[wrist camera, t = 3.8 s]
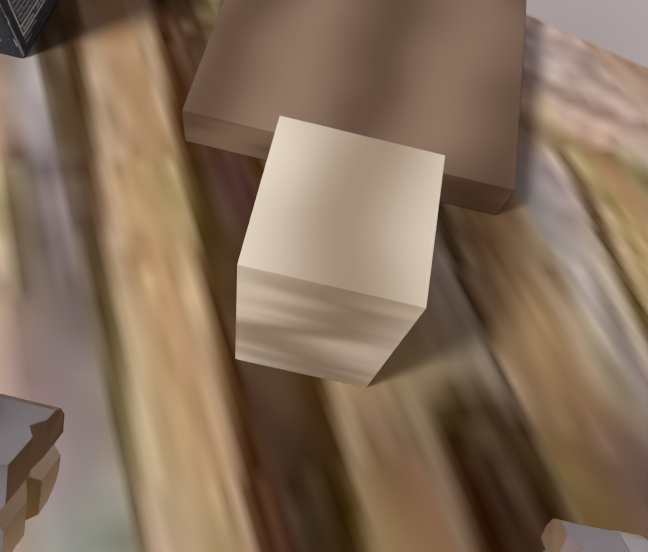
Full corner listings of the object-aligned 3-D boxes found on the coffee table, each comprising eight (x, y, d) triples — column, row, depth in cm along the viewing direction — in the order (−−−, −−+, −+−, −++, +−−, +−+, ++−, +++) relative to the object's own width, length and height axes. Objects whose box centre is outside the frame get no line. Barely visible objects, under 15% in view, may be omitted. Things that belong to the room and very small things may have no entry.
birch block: (235, 358, 23) (237, 264, 16) (265, 243, 25) (279, 115, 18) (365, 387, 23) (426, 308, 16) (384, 271, 25) (444, 155, 18)
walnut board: (185, 140, 27) (182, 110, 25) (251, -40, 32) (252, -76, 30) (496, 214, 27) (515, 190, 25) (510, 25, 32) (526, -6, 31)
